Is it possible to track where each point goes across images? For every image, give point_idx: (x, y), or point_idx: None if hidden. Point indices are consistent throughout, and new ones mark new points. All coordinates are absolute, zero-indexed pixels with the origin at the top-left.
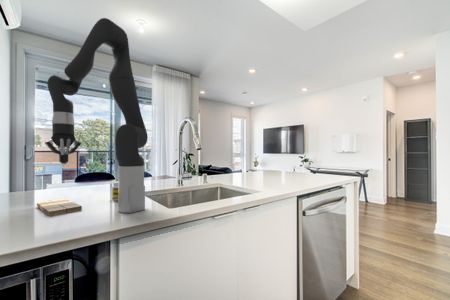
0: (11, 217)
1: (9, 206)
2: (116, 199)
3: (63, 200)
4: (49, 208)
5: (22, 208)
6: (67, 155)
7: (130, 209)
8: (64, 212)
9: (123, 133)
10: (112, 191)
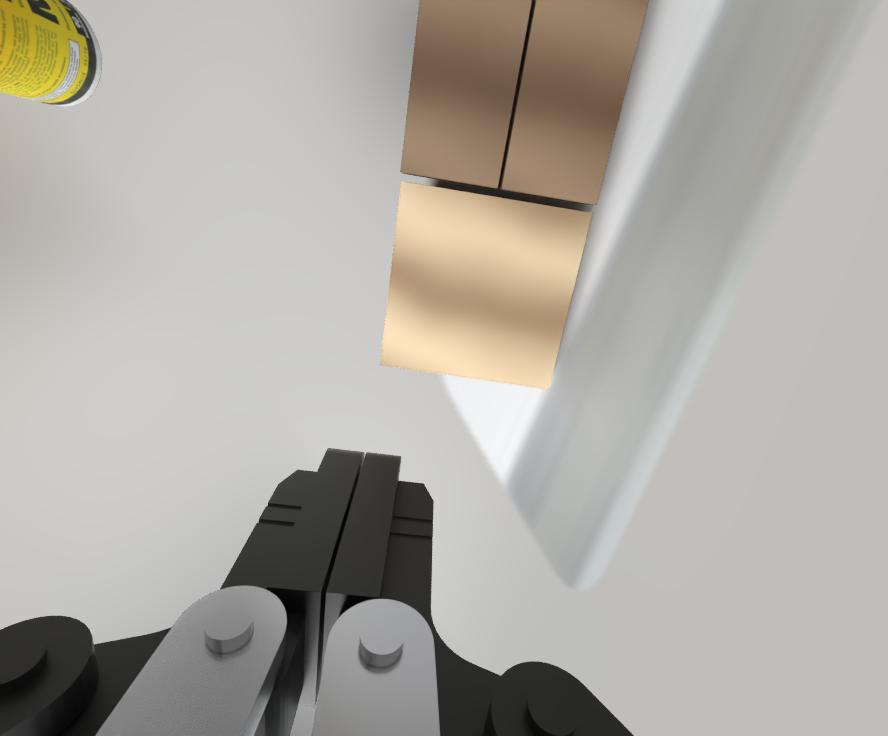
0: (743, 217)
1: (602, 531)
2: (72, 6)
3: (417, 304)
4: (597, 103)
5: (597, 415)
6: (241, 591)
7: None
8: None
9: None
10: (33, 38)
